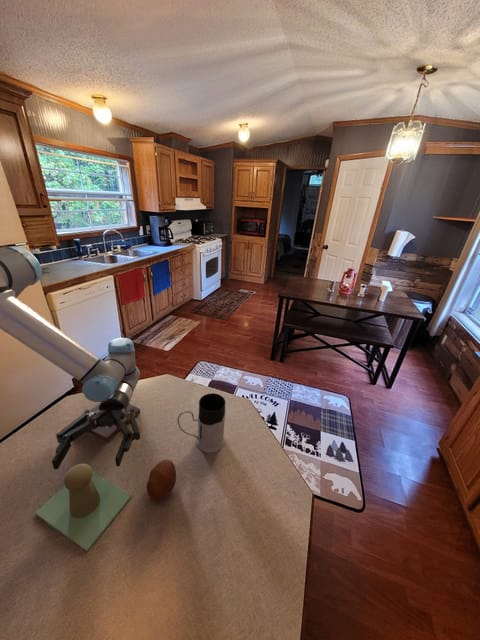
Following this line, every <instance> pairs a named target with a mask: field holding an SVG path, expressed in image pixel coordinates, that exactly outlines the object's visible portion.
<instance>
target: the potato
mask: <svg viewBox="0 0 480 640" xmlns="http://www.w3.org/2000/svg"><path fill="white" fill-rule="evenodd" d="M176 482H177V470H176V466H175V464H174V462H173V460H170V459H168V458H167V459H162V460H160V461H159V462H158V463H157V464H156V465H155V466H154V467H153V468H152V469H151V470H150V472H149V475H148V480H147V482H146V491H147V495H148V498H149V499H150V500H151V501H152V502H154V503H158V502H159V503H160V502H161V501H163V500H165V499H166V498H167V497H168V496H169V495H170V494H171V493H172V491H173V489H174V487H175V485H176Z"/></svg>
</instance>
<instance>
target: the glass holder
mask: <svg viewBox="0 0 480 640" xmlns="http://www.w3.org/2000/svg"><path fill="white" fill-rule="evenodd" d="M186 413H189V414H191V419H192V422H197V434H196V433H195V434H194V433H193V432H189V431H187V430H185V429H184V428H183V427H182V426H181V424H180V417H181V416H182V415H183V414H186ZM176 419H177V420H176V421H177V425H178V427H179V429H180V431H181V432H182V433H184V434H186V435H188V436H191V437H193V438H195V443H196V446H197V448H198V449H199V450H200V451H201V452H204V453H210V454H211V453H217V452H219V451H220V450H221V449H222V448H223V447H224V445H225V441H226V440H225V436H224V434H225V422H226V421H225V420H226V399H225V398H224V397H223V396H222V395H220V394H218V393H212V392H211V393H206V394H204V395H202V396H201V397H200V398H199V401H198V415H197V418H195V416H194V412H192V411H191V410H189V409H186V410H182V411H181V412H179V414H178V415H177V418H176ZM222 446H223V447H222Z"/></svg>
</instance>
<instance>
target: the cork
mask: <svg viewBox="0 0 480 640" xmlns="http://www.w3.org/2000/svg"><path fill="white" fill-rule="evenodd" d="M92 472H93V468H92V467H91V466H90V465H89V464H88V463H78V464H76V465H74V466H72V467H71V468H69V469H68V471H67V472H66V473H65V476H64V479H63V484H64V486H65V487H66V488H67V489H68V490H69V503H70V513H71V515H72V516H73V517H75V518H83V517H85V516H88V515H89V514H91V513H92V512H93V511H94V510H95V509H96V508H97V506H98V504H99V502H100V495H99V493H98V491H97V489H96V487H95V485H94V483H93V481H92V479H91V478H92Z"/></svg>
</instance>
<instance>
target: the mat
mask: <svg viewBox="0 0 480 640" xmlns="http://www.w3.org/2000/svg"><path fill="white" fill-rule="evenodd" d="M91 479H92V481H93V483H94V485H95V487H96V489H97V491H98V493H99V495H100V502H99V504H98V506H97V508H96V509H95V510H94V511H93V512H92V513H91V514H89V515H88V516H85V517H83V518H75V517H73V516H72V515H71V513H70V503H69V490H68V489H67V488H66V487H65V485H64V486H63V487H62V488H60V489H59V491H57V492H56V493H55V494H54V495H53V496H51V498H49V499H48V500H47V501H46V502H45V503H44V504H43V505H42V506H41V507H40V508H39V509H37V510H36V512H34V514H35V516H37V517H38V518H40V520H42V521H44V522H45V523H46V524H47V525H49V526H51V527H52V528H53V529H55V530H56V531H57V532H58V533H60V534H61V535H63V536H64V537H66V538H67V539H68V540H70V541H71V542H72V543H73V544H75V545H77V546H78V547H79V548H81V549H82V550H83V551H85V552H86V553H88V552H89V551H90V550H91V548H92V547H93V546H94V544H95V543H96V542H97V541H98V539H99V538H100V537H102V535H103V534H104V532H105V531H106V529H108V527H109V526H110V524H111V523H112V522H113V521H114V520H115V518H116V517H117V516H118V515H119V513H120V512H121V510H123V508H124V507H125V506H126V505H127V503H128V502H129V501H130V500H131V499H132V497H133V495H132V494H131V493H129V492H127V491H126V490H124V489H122V488H121V487H118V486H117V485H116V484H113V483H112V482H110V481H108V480H107V479H105V478H104V477H101V476H100V475H98V474H97V473H94V472H93V471H92V478H91Z"/></svg>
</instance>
